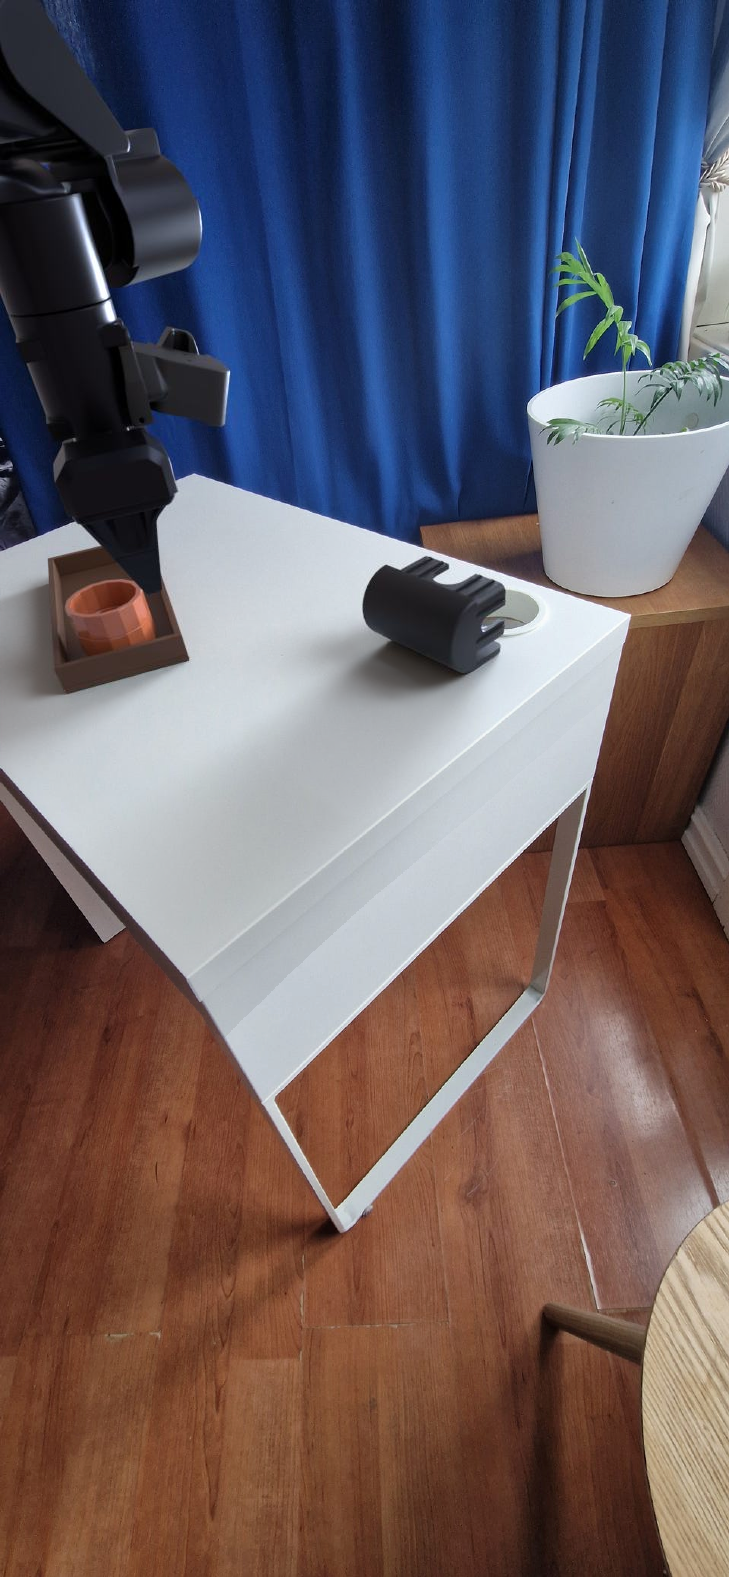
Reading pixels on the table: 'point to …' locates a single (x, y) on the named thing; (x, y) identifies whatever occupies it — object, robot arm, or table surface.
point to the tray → (116, 664)
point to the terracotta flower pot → (110, 616)
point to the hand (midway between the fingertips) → (146, 565)
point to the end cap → (436, 613)
